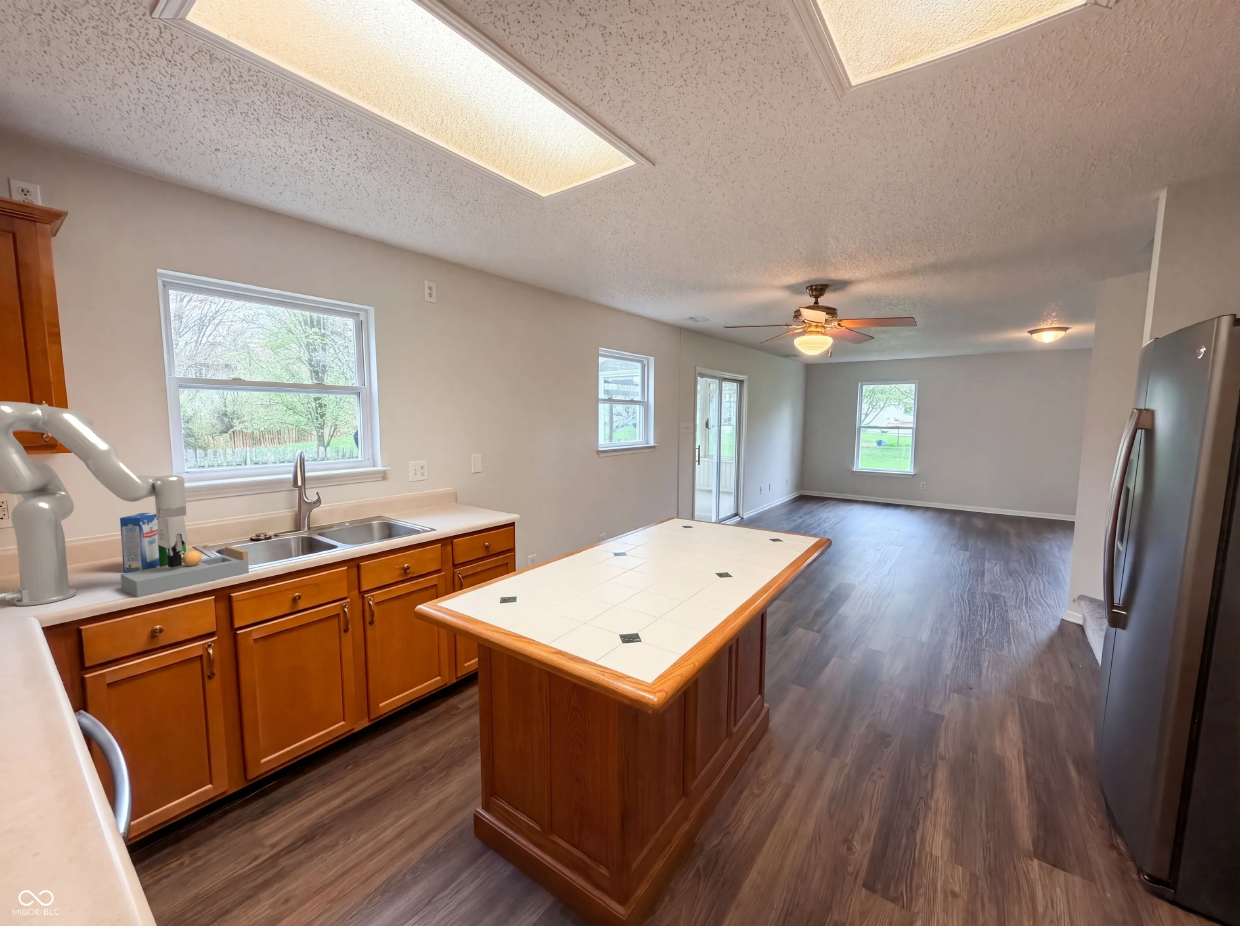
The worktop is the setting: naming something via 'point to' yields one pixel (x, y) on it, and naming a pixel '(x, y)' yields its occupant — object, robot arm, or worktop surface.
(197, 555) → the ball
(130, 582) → the grey long boxy piece
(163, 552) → the soda can
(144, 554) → the milk carton
